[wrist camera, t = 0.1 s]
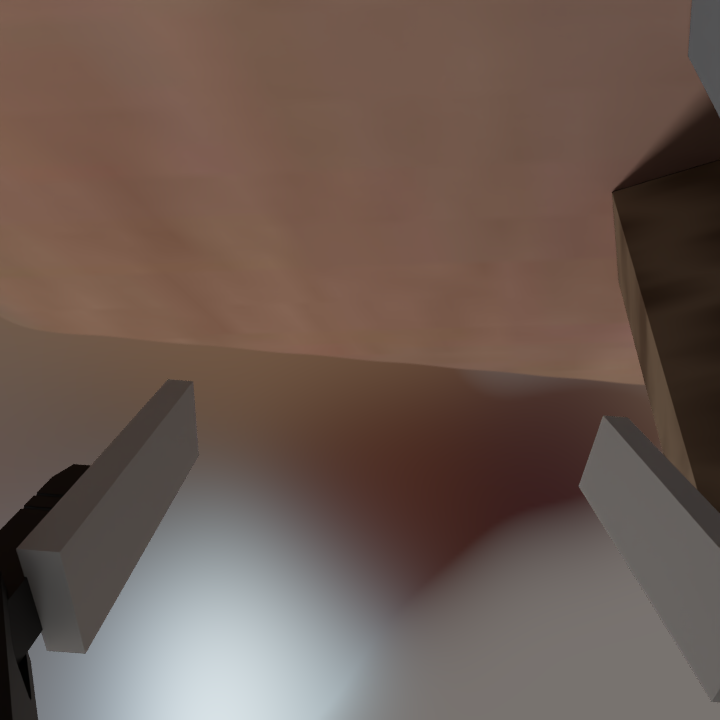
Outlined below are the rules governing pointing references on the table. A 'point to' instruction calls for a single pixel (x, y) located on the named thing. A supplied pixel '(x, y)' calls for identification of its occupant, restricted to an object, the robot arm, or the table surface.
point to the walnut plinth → (676, 311)
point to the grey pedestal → (706, 46)
